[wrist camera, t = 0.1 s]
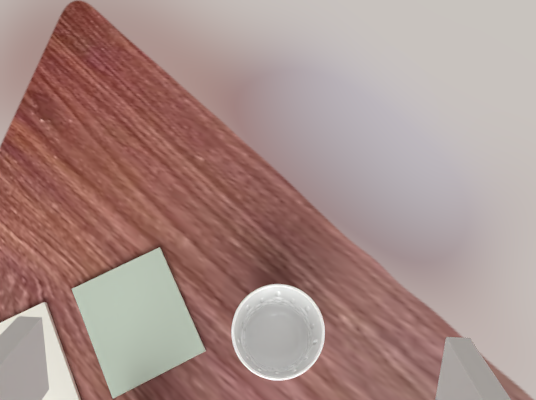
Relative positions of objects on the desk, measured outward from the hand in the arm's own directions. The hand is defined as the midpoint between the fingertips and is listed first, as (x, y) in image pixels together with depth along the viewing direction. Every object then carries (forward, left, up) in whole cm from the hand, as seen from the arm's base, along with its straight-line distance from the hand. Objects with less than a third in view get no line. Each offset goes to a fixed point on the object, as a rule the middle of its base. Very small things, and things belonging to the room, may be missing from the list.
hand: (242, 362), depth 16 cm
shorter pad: (+10, +9, -36) cm, 38 cm away
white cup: (+2, -3, -36) cm, 36 cm away
